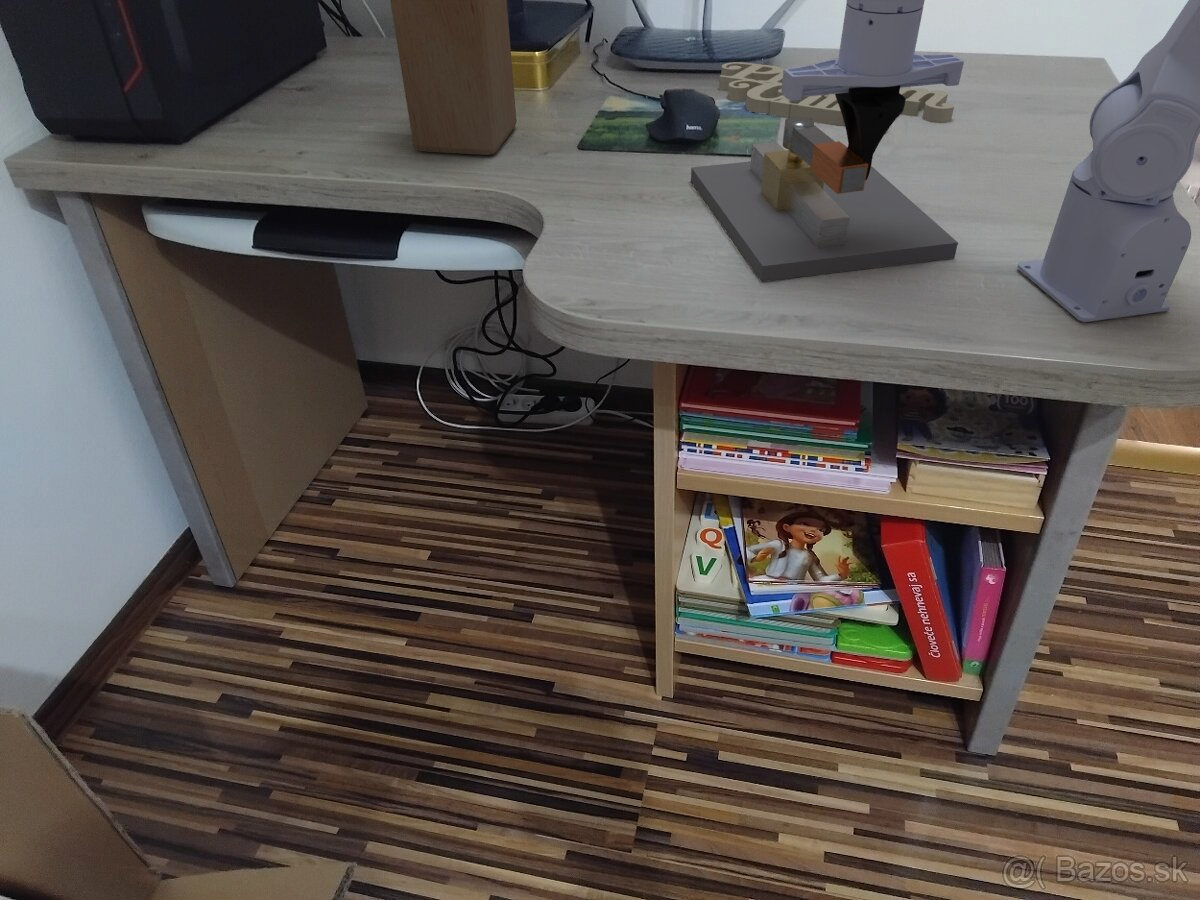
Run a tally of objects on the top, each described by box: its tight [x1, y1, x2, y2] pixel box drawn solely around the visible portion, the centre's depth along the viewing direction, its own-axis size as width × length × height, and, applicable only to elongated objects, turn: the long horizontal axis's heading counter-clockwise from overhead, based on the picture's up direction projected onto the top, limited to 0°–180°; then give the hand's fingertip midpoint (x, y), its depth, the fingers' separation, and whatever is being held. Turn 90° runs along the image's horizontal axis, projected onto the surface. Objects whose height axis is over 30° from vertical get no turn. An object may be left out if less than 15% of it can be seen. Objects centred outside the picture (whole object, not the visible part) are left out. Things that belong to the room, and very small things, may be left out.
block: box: [389, 0, 517, 156], centre depth 97 cm, size 10×10×20 cm
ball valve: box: [750, 141, 850, 248], centre depth 83 cm, size 18×4×5 cm, turn 11°
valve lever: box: [782, 117, 868, 194], centre depth 77 cm, size 12×3×2 cm, turn 14°
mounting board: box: [690, 160, 959, 283], centre depth 85 cm, size 22×18×2 cm
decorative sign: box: [718, 61, 955, 127], centre depth 109 cm, size 31×2×15 cm
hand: (855, 176), depth 76 cm, fingers closed
